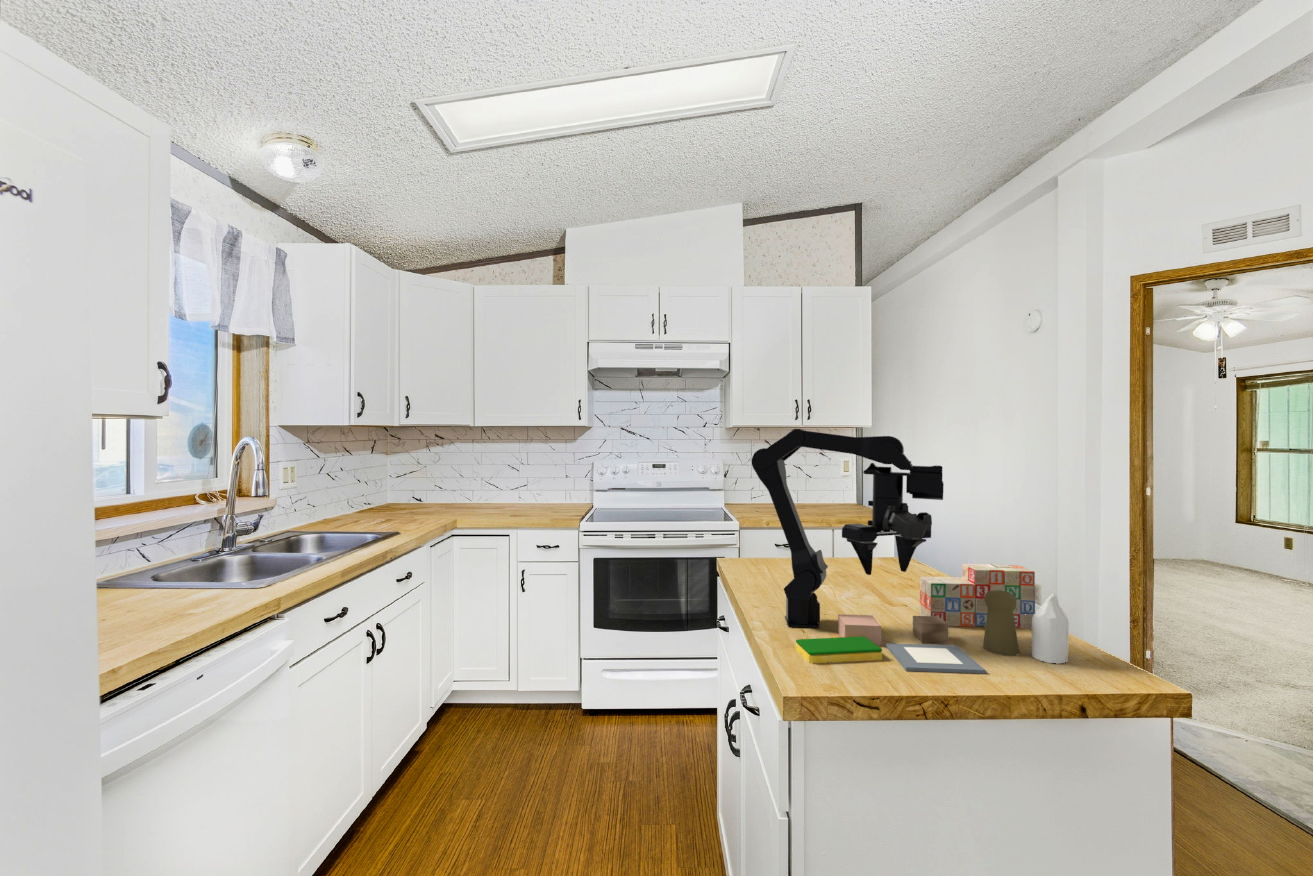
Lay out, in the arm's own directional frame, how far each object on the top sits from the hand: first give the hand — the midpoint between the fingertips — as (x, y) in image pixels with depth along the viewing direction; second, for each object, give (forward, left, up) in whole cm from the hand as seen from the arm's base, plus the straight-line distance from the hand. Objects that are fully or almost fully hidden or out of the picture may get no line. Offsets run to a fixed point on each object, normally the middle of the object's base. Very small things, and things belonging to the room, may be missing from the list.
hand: (886, 573), depth 118 cm
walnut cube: (+8, -2, -13) cm, 15 cm away
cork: (+19, -7, -13) cm, 24 cm away
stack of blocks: (+22, +10, -13) cm, 27 cm away
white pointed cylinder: (+25, -11, -13) cm, 31 cm away
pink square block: (-6, -3, -13) cm, 15 cm away
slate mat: (+4, -13, -13) cm, 19 cm away
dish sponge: (-12, -12, -13) cm, 22 cm away
